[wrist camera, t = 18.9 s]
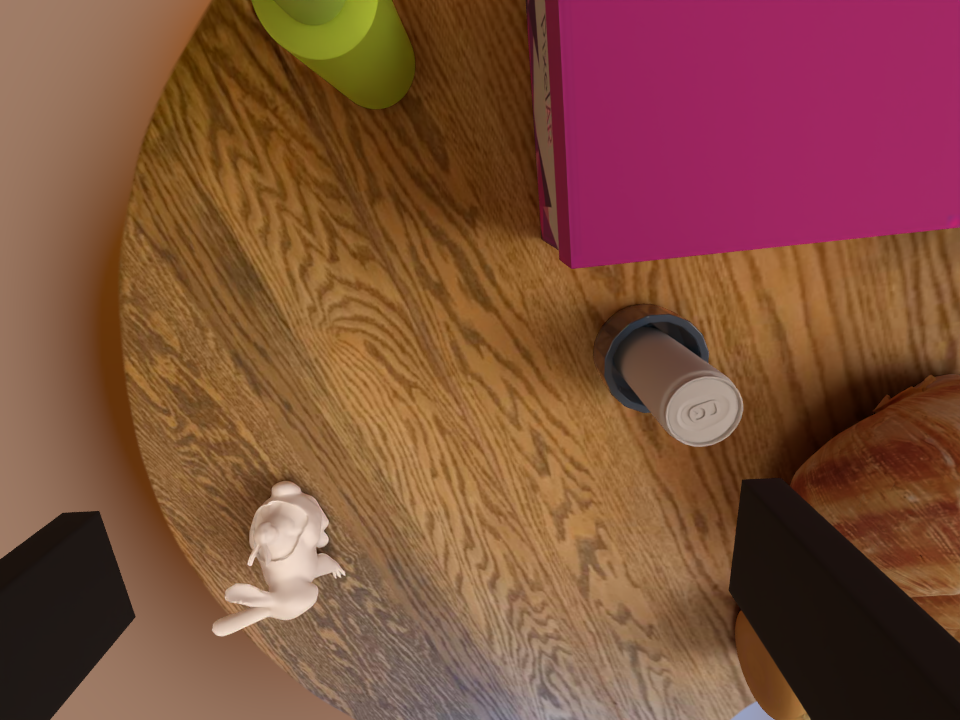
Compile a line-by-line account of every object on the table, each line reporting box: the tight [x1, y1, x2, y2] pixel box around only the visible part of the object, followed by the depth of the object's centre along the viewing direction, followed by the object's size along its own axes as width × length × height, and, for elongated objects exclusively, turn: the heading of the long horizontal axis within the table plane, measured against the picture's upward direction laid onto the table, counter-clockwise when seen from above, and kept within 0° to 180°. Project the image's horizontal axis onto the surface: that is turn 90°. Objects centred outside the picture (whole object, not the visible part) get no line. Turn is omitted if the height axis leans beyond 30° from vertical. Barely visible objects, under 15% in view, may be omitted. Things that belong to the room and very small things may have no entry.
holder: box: [593, 304, 709, 413], centre depth 39 cm, size 8×8×4 cm
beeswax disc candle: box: [735, 611, 811, 720], centre depth 45 cm, size 9×4×10 cm, turn 4°
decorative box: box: [526, 0, 960, 269], centre depth 28 cm, size 19×19×15 cm
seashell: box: [790, 374, 960, 643], centre depth 37 cm, size 21×20×15 cm
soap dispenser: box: [251, 0, 415, 109], centre depth 25 cm, size 6×7×20 cm
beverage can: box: [614, 327, 743, 447], centre depth 35 cm, size 5×5×12 cm
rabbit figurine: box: [212, 481, 346, 636], centre depth 42 cm, size 12×8×10 cm, turn 8°
